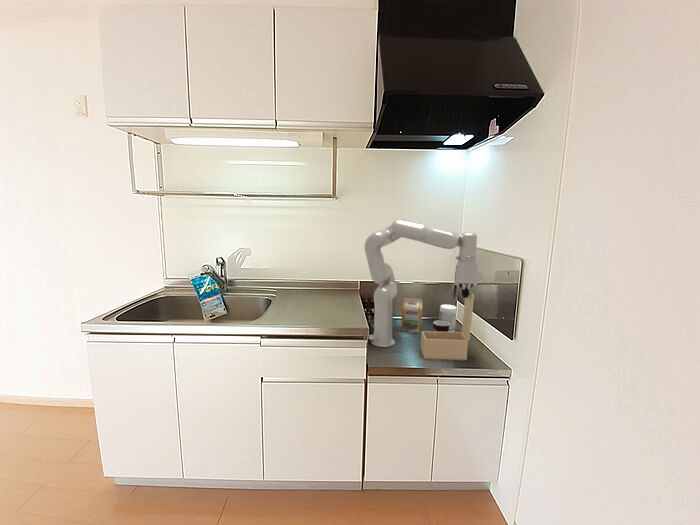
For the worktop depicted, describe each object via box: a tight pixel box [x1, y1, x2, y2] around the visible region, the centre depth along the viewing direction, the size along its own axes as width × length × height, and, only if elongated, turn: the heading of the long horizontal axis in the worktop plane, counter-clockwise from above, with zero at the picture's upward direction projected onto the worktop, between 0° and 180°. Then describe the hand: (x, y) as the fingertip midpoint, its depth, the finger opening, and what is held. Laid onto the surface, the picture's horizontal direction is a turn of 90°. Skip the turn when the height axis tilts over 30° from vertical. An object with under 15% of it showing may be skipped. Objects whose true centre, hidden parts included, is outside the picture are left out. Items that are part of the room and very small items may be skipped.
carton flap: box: [461, 291, 475, 342], centre depth 164 cm, size 22×11×1 cm
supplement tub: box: [438, 303, 457, 332], centre depth 201 cm, size 10×10×15 cm
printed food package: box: [400, 297, 423, 335], centre depth 201 cm, size 11×11×19 cm
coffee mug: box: [432, 320, 450, 332], centre depth 187 cm, size 12×9×10 cm
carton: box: [420, 330, 469, 361], centre depth 167 cm, size 20×11×10 cm, turn 87°
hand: (465, 296), depth 163 cm, fingers closed
